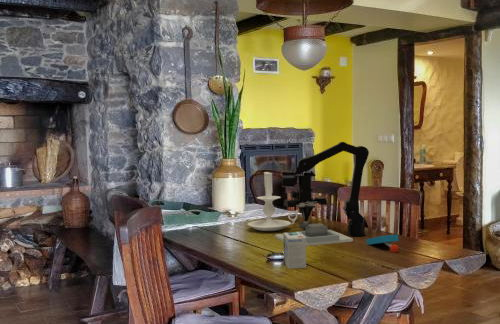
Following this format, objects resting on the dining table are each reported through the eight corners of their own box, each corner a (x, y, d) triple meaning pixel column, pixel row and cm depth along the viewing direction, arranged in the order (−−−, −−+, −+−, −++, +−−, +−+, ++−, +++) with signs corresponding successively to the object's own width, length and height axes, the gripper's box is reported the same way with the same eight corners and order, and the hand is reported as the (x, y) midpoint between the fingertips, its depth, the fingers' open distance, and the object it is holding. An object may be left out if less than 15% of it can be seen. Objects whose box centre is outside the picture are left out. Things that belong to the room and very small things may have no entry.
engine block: (322, 236, 237) (322, 222, 237) (327, 238, 232) (327, 224, 232) (305, 237, 235) (305, 224, 234) (310, 240, 230) (309, 226, 230)
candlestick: (304, 232, 254) (303, 171, 252) (252, 235, 250) (250, 174, 248) (293, 224, 274) (291, 168, 272) (244, 227, 270) (242, 170, 268)
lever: (368, 256, 224) (388, 253, 207) (366, 239, 226) (386, 235, 209) (383, 254, 226) (405, 252, 209) (381, 237, 227) (402, 233, 210)
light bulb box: (283, 261, 200) (282, 232, 200) (301, 260, 201) (300, 231, 200) (287, 269, 190) (287, 238, 189) (307, 268, 190) (306, 237, 190)
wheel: (309, 226, 248) (309, 220, 248) (314, 228, 242) (314, 221, 242) (297, 227, 246) (297, 220, 246) (302, 229, 241) (302, 222, 241)
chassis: (330, 232, 252) (330, 225, 252) (353, 241, 231) (353, 233, 230) (274, 237, 244) (274, 230, 244) (293, 247, 223) (292, 239, 223)
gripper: (317, 183, 254) (317, 217, 255) (278, 186, 248) (279, 220, 249) (327, 185, 243) (328, 220, 244) (287, 188, 237) (288, 224, 238)
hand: (305, 221), depth 244 cm, fingers closed, pressing on wheel
